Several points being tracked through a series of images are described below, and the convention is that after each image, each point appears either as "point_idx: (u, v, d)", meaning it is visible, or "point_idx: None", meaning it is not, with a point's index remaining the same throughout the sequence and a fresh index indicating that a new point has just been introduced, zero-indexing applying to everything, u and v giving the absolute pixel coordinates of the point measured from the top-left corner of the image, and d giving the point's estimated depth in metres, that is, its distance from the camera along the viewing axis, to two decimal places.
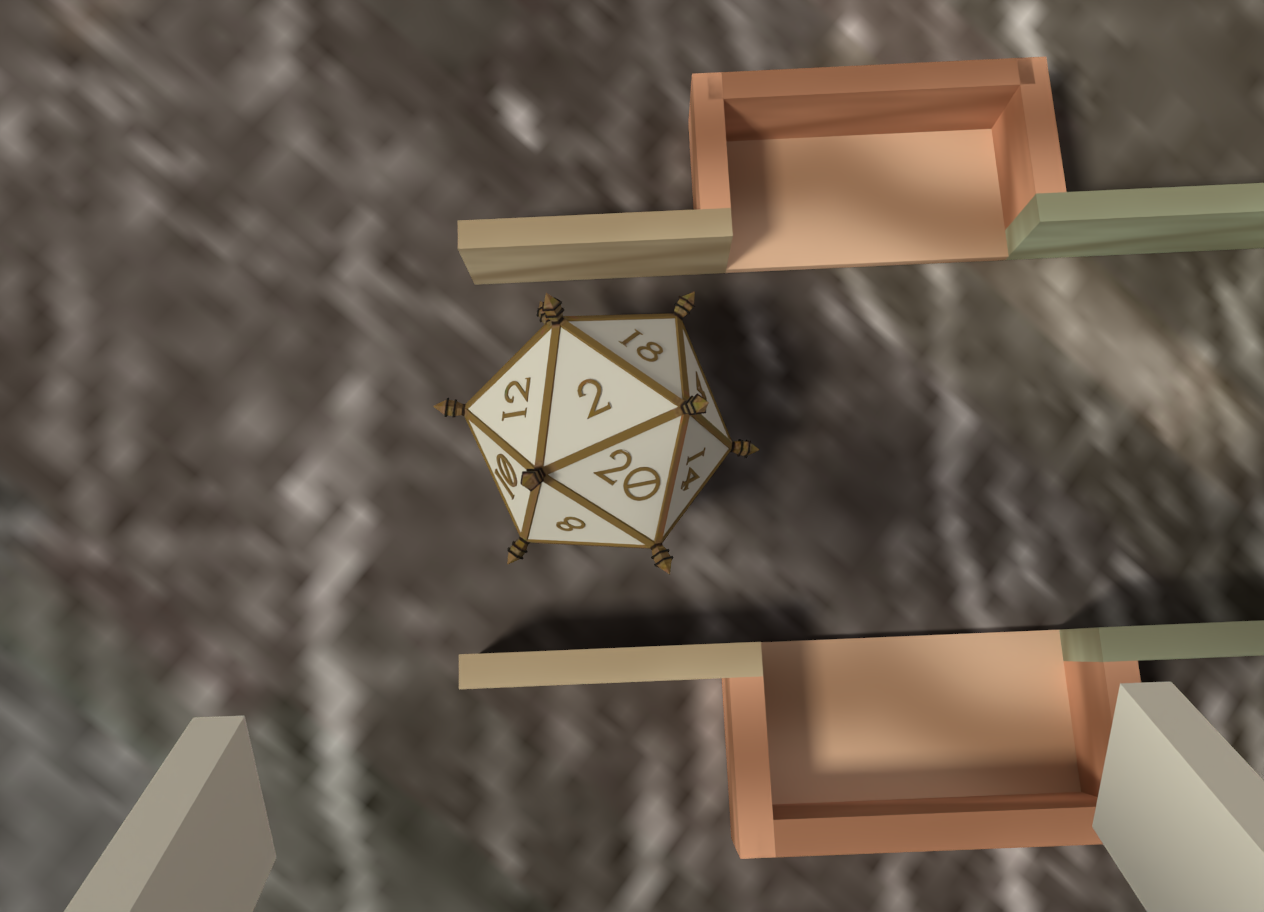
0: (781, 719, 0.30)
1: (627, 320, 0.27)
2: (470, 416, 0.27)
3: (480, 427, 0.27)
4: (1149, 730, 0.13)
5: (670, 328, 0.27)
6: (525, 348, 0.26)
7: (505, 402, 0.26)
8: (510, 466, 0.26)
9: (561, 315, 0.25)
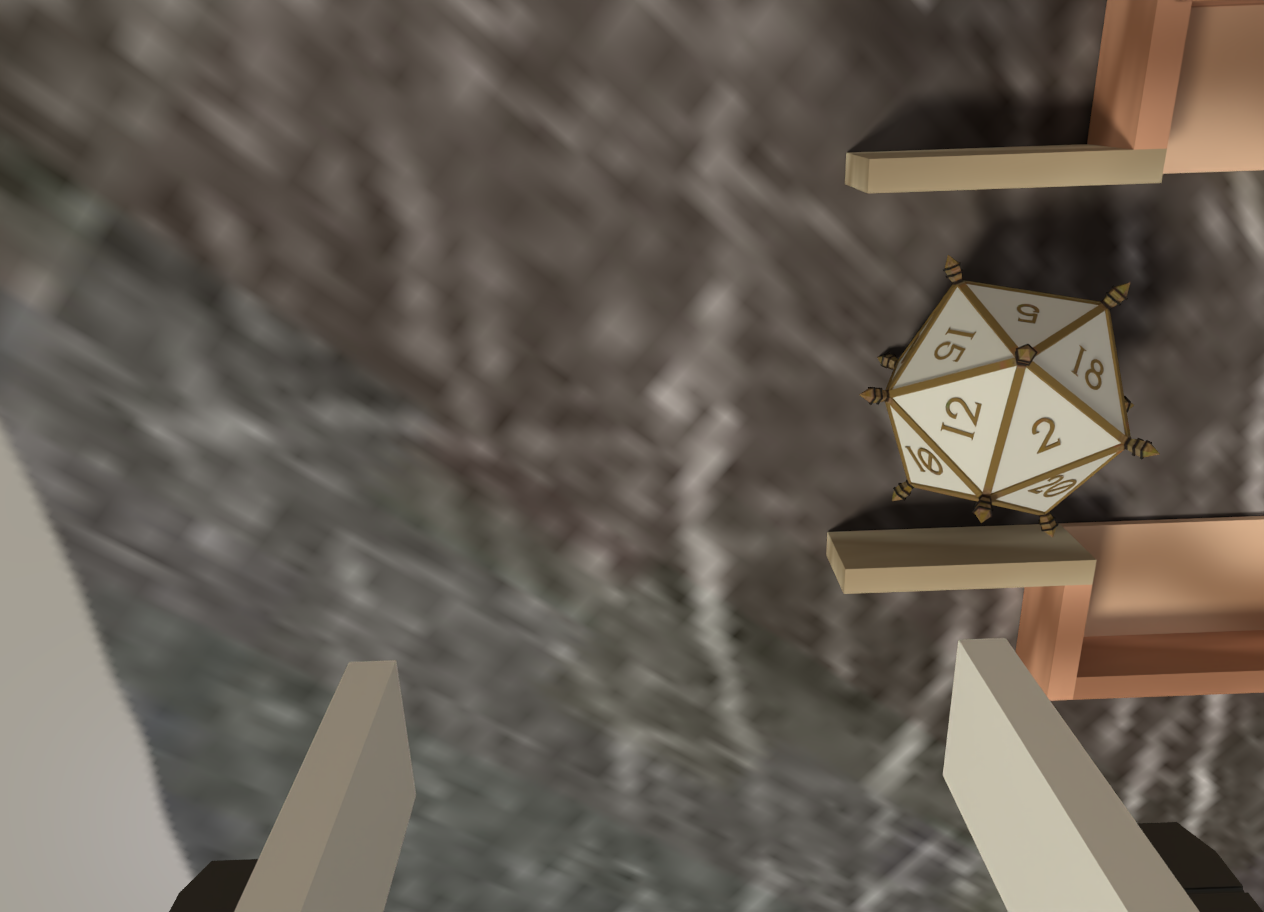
0: None
1: (1072, 333, 0.27)
2: (896, 407, 0.29)
3: (910, 424, 0.29)
4: (977, 680, 0.14)
5: (1104, 329, 0.28)
6: (977, 372, 0.27)
7: (945, 414, 0.28)
8: (940, 466, 0.29)
9: None
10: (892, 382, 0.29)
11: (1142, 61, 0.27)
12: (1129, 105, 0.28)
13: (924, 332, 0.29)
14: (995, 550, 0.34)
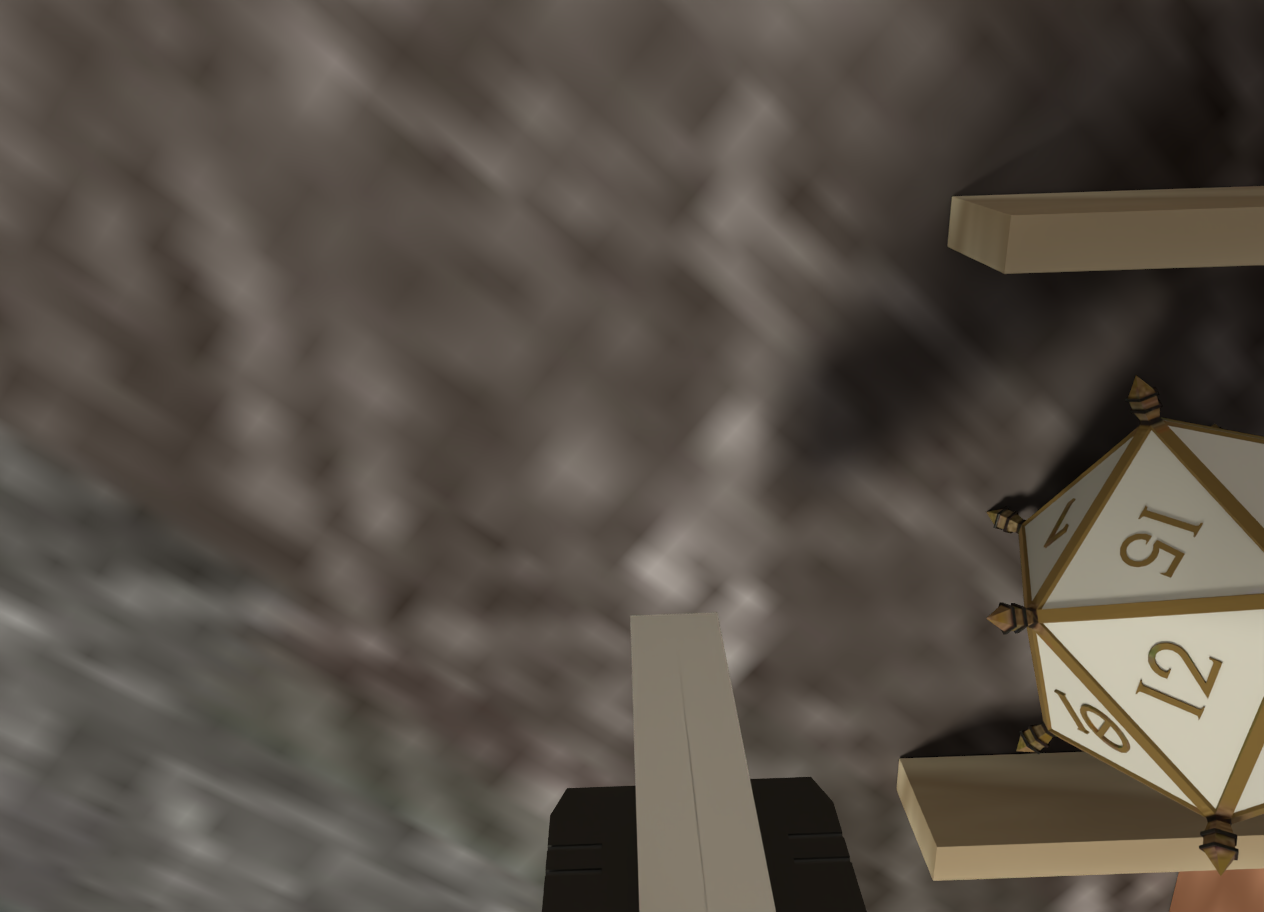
0: None
1: None
2: (1050, 641, 0.17)
3: (1075, 671, 0.17)
4: None
5: None
6: (1217, 605, 0.15)
7: (1147, 667, 0.16)
8: (1127, 745, 0.17)
9: None
10: (1041, 595, 0.17)
11: None
12: None
13: (1095, 508, 0.17)
14: (1165, 806, 0.22)
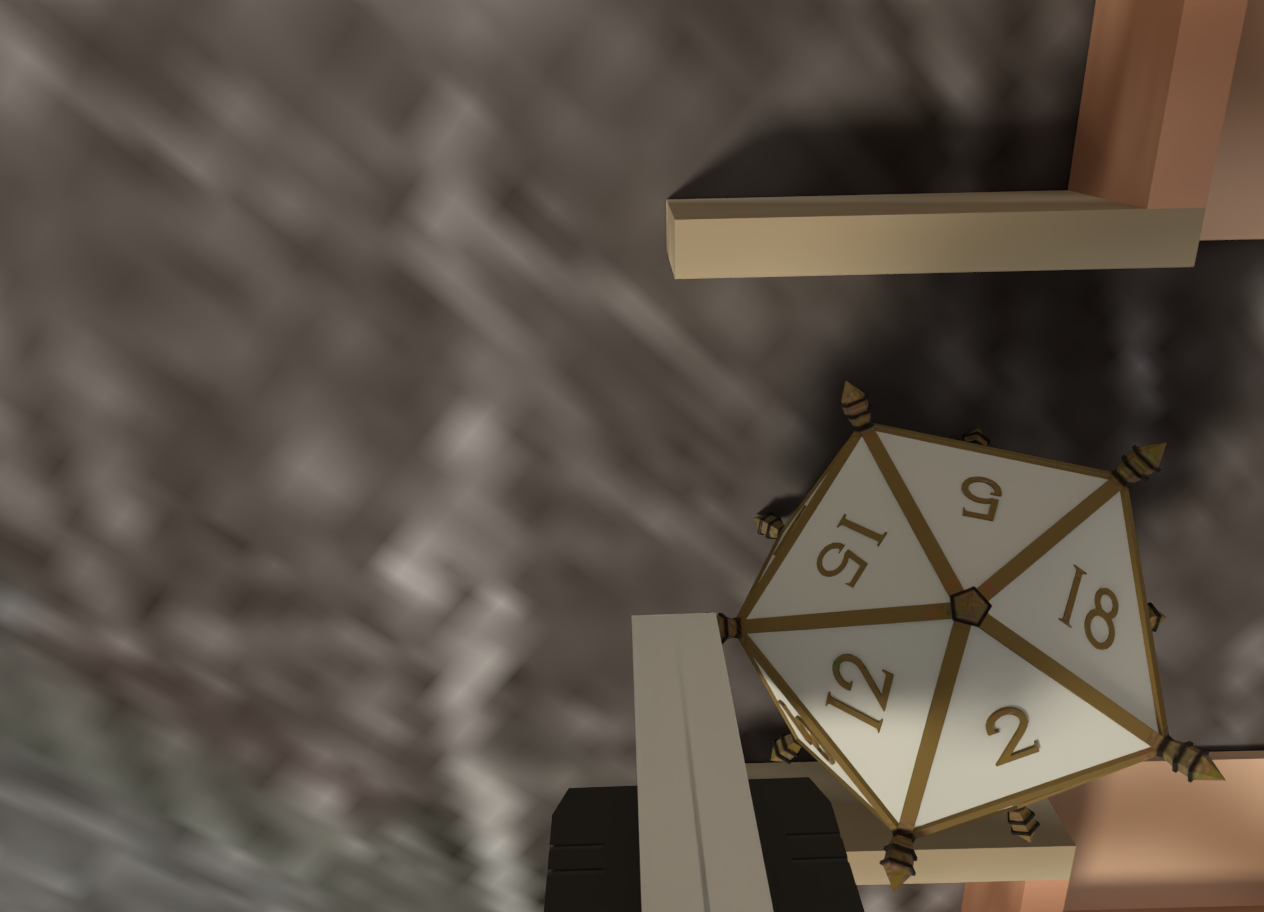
0: None
1: (1060, 543, 0.15)
2: (753, 651, 0.16)
3: (776, 682, 0.16)
4: None
5: (1118, 527, 0.15)
6: (884, 617, 0.14)
7: (833, 678, 0.15)
8: (830, 757, 0.16)
9: None
10: (748, 604, 0.17)
11: (1165, 51, 0.15)
12: (1140, 129, 0.16)
13: (804, 516, 0.17)
14: None
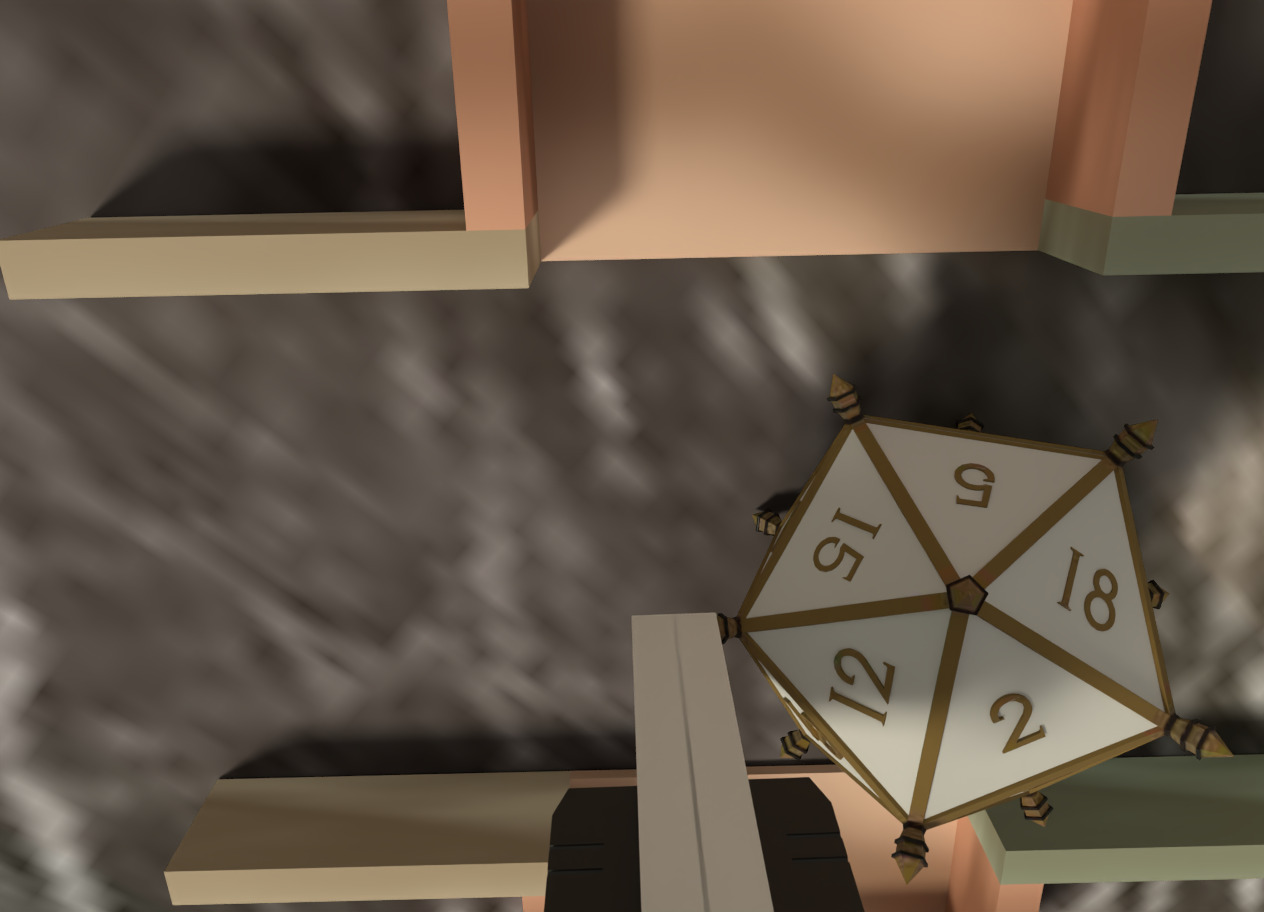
0: None
1: (1056, 526, 0.15)
2: (755, 650, 0.16)
3: (778, 680, 0.16)
4: None
5: (1114, 507, 0.15)
6: (882, 609, 0.14)
7: (835, 674, 0.15)
8: (837, 752, 0.16)
9: None
10: (747, 603, 0.17)
11: None
12: None
13: (799, 511, 0.17)
14: (428, 832, 0.22)
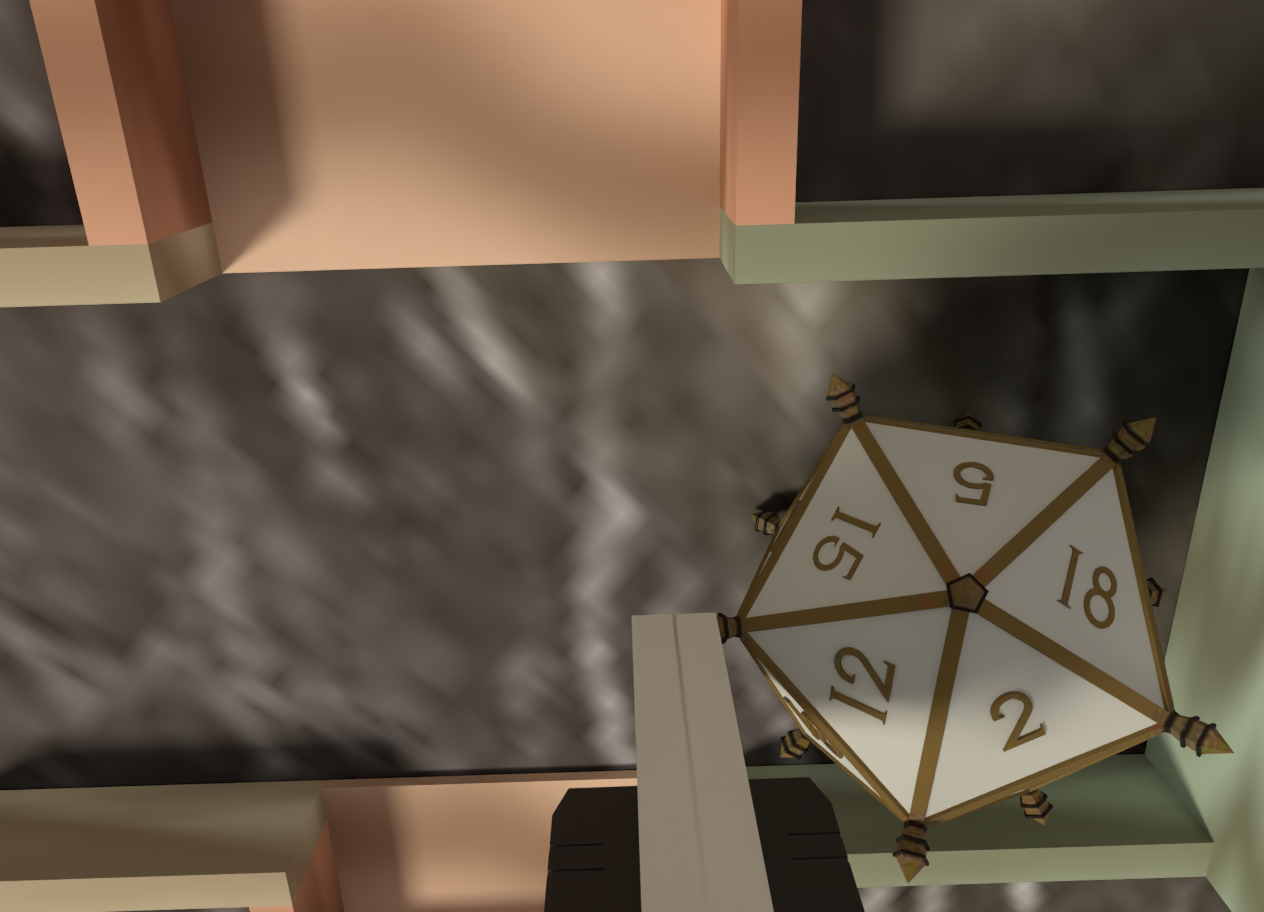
0: (365, 861, 0.24)
1: (1055, 524, 0.15)
2: (755, 650, 0.16)
3: (779, 679, 0.16)
4: None
5: (1113, 504, 0.15)
6: (882, 608, 0.14)
7: (835, 673, 0.15)
8: (837, 751, 0.16)
9: None
10: (746, 603, 0.17)
11: None
12: None
13: (798, 511, 0.17)
14: (161, 843, 0.22)
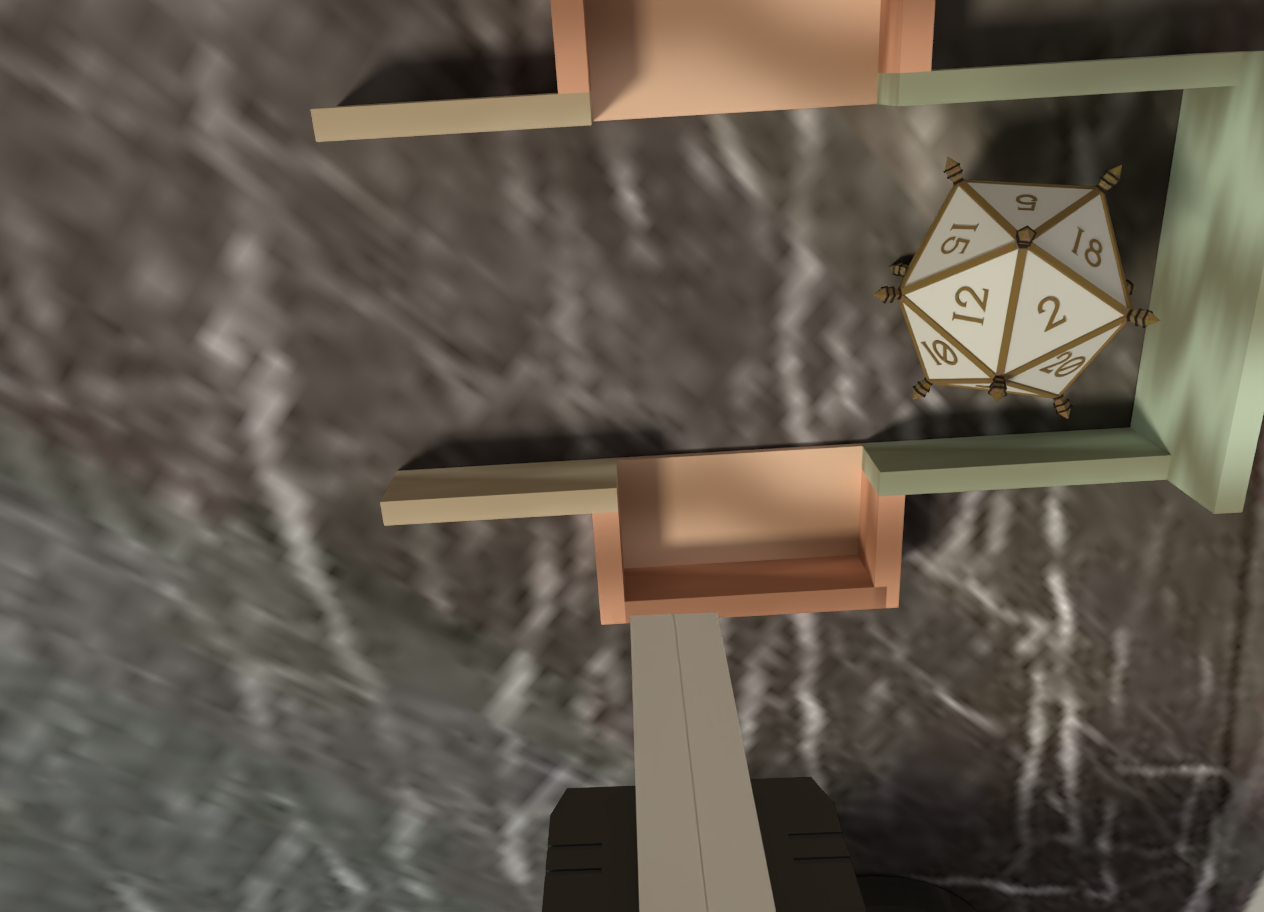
0: (639, 513, 0.39)
1: (1069, 216, 0.29)
2: (909, 303, 0.31)
3: (923, 317, 0.30)
4: None
5: (1100, 211, 0.29)
6: (982, 259, 0.29)
7: (955, 303, 0.30)
8: (955, 355, 0.30)
9: None
10: (903, 281, 0.31)
11: None
12: None
13: (930, 231, 0.31)
14: (533, 482, 0.36)
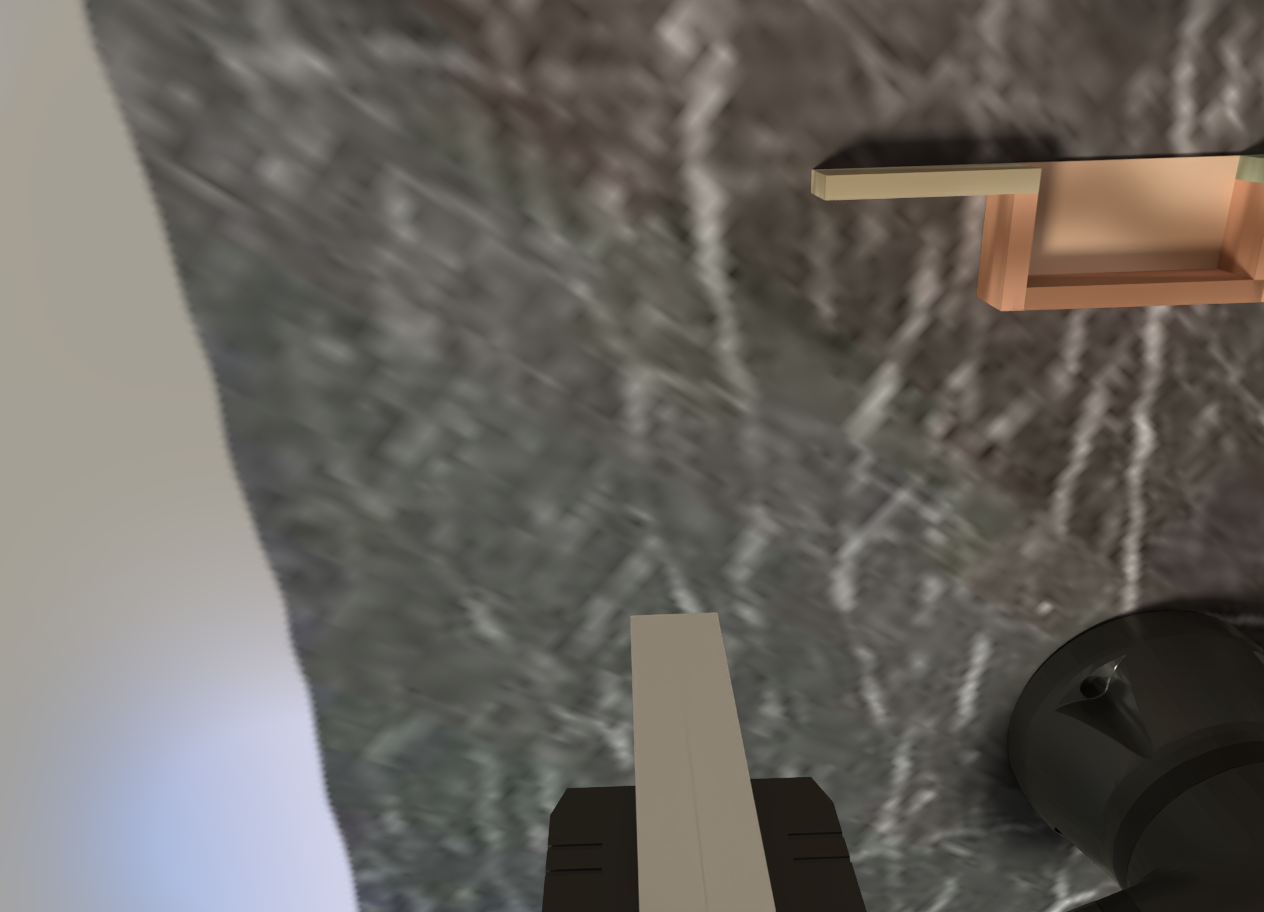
0: None
1: None
2: None
3: None
4: None
5: None
6: None
7: None
8: None
9: None
10: None
11: None
12: None
13: None
14: (955, 169, 0.40)
